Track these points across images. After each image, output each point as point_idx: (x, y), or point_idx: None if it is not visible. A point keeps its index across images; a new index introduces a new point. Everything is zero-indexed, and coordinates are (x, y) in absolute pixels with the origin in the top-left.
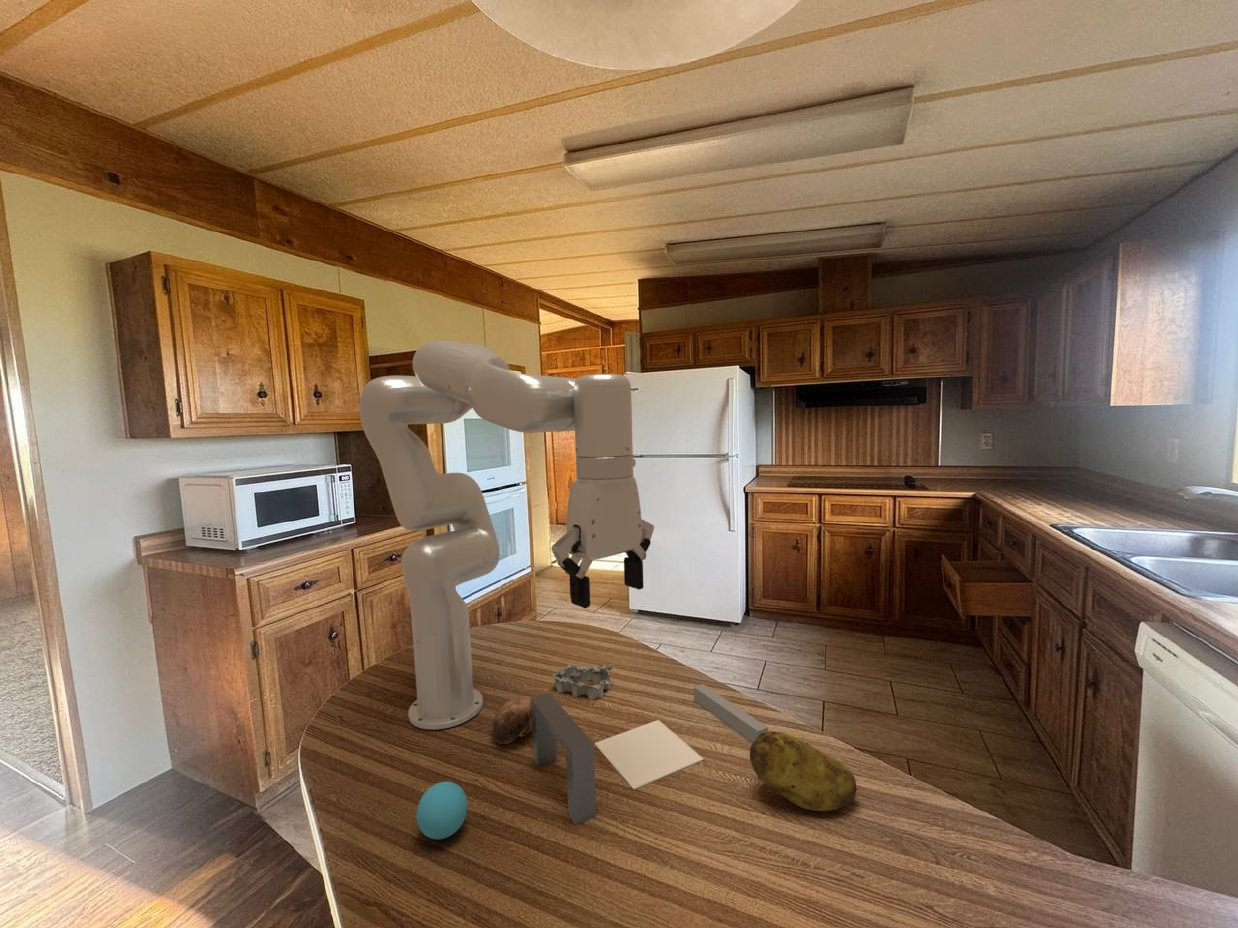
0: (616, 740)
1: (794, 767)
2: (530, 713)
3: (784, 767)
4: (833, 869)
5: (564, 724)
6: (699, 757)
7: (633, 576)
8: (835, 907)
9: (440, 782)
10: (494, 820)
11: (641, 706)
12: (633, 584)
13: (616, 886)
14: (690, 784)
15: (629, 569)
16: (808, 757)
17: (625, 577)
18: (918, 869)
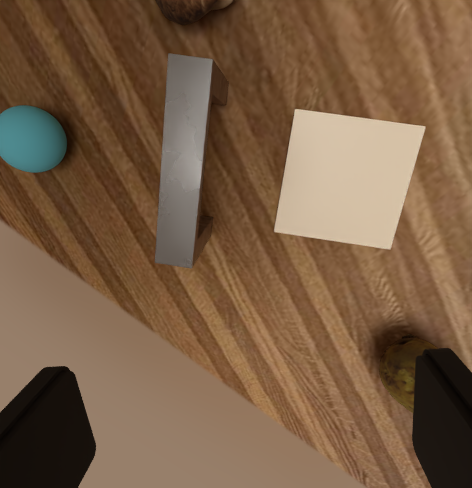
0: (327, 127)
1: (408, 406)
2: (208, 4)
3: (398, 399)
4: (343, 421)
5: (180, 191)
6: (388, 243)
7: (445, 469)
8: (309, 435)
9: (12, 121)
10: (107, 161)
11: (442, 62)
12: (420, 425)
13: (178, 316)
14: (336, 269)
15: (468, 484)
16: None
17: (438, 391)
18: (397, 462)
